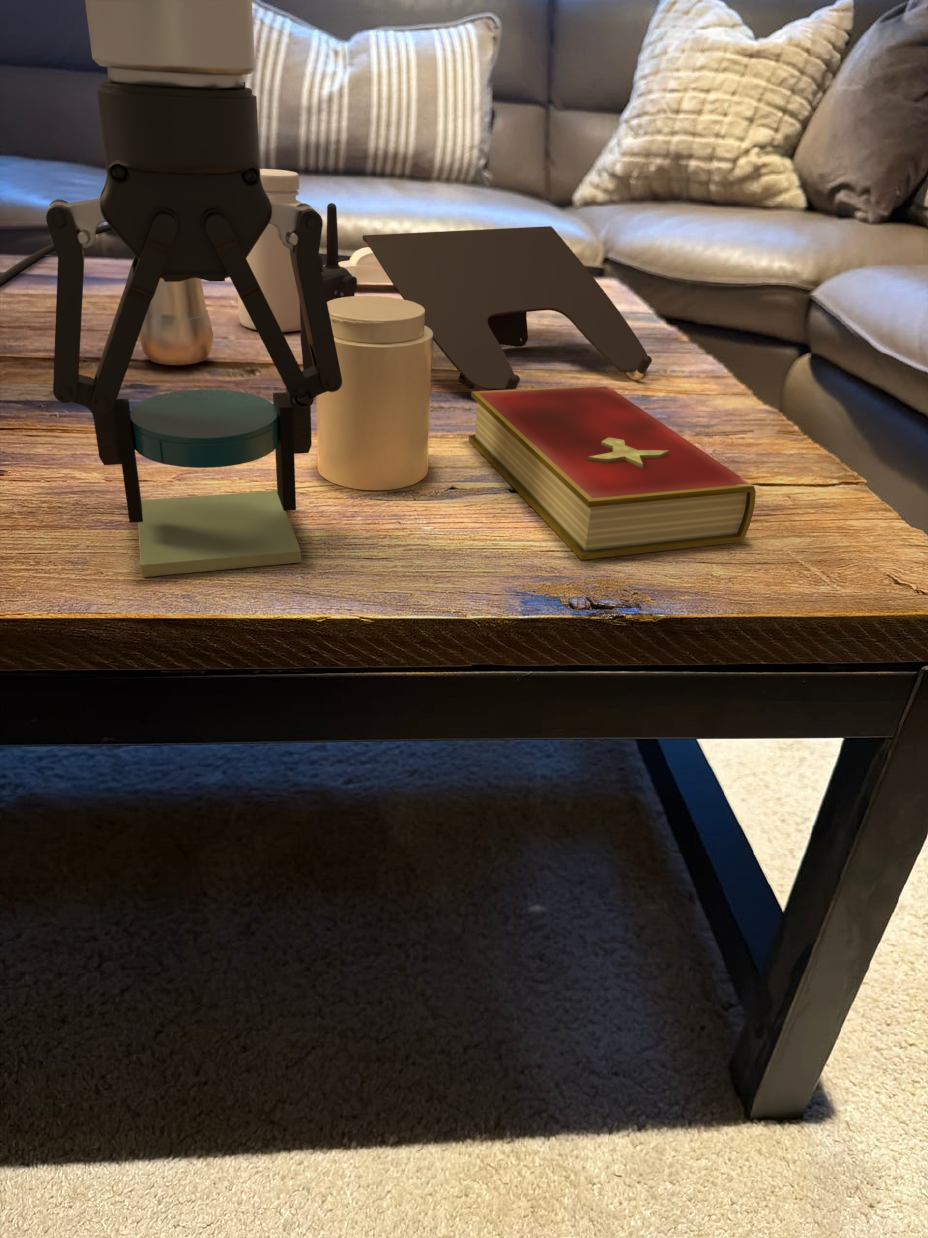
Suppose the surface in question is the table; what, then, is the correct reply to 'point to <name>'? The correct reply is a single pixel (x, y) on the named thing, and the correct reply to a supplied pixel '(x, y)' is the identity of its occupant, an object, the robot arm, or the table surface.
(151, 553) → the coaster
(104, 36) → the robot arm
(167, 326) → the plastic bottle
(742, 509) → the hardcover book
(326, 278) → the two-way radio
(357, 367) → the jar
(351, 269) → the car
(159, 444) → the jar lid
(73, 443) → the table surface
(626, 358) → the laptop tray
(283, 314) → the pill bottle
